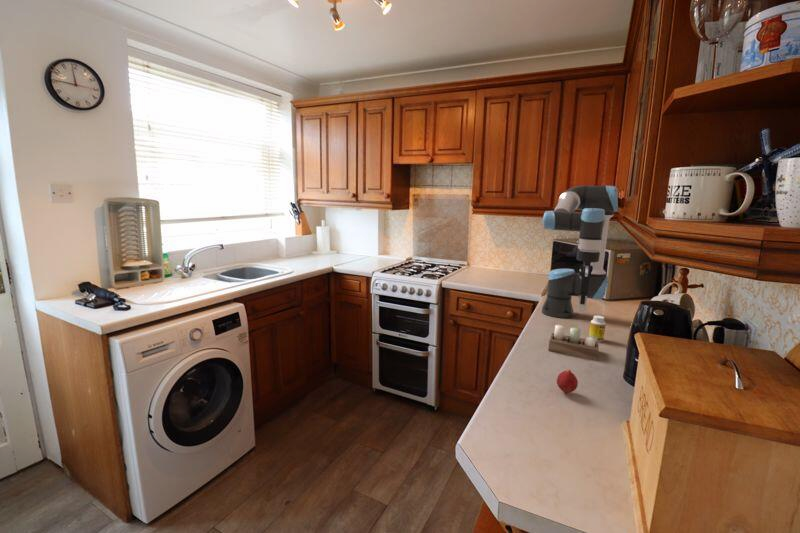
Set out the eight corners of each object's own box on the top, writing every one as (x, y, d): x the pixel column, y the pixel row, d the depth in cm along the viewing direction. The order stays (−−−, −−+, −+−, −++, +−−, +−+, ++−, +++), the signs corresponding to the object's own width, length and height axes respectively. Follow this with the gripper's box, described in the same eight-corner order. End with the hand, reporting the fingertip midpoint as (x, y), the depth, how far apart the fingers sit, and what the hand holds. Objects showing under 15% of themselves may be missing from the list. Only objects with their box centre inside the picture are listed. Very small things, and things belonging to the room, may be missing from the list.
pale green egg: (569, 339, 149) (570, 326, 148) (579, 341, 148) (580, 328, 147) (568, 342, 146) (570, 329, 145) (578, 344, 145) (580, 331, 144)
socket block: (551, 342, 156) (552, 333, 155) (597, 350, 148) (598, 341, 148) (548, 350, 147) (549, 341, 146) (597, 360, 140) (598, 350, 139)
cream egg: (554, 336, 152) (555, 324, 151) (563, 338, 150) (565, 325, 149) (553, 339, 149) (554, 326, 148) (563, 341, 147) (564, 328, 146)
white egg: (583, 349, 147) (585, 336, 146) (593, 351, 146) (595, 338, 145) (583, 352, 144) (585, 339, 143) (593, 354, 143) (595, 341, 142)
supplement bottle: (598, 343, 156) (601, 319, 154) (585, 339, 161) (588, 316, 159) (606, 340, 159) (609, 317, 157) (593, 336, 164) (596, 314, 162)
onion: (551, 391, 116) (554, 367, 114) (562, 386, 119) (564, 363, 118) (569, 400, 111) (572, 375, 110) (580, 394, 115) (583, 370, 113)
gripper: (577, 247, 147) (570, 305, 152) (577, 251, 135) (570, 314, 140) (599, 249, 144) (591, 308, 148) (600, 253, 132) (592, 318, 137)
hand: (581, 311), depth 144 cm, fingers closed
